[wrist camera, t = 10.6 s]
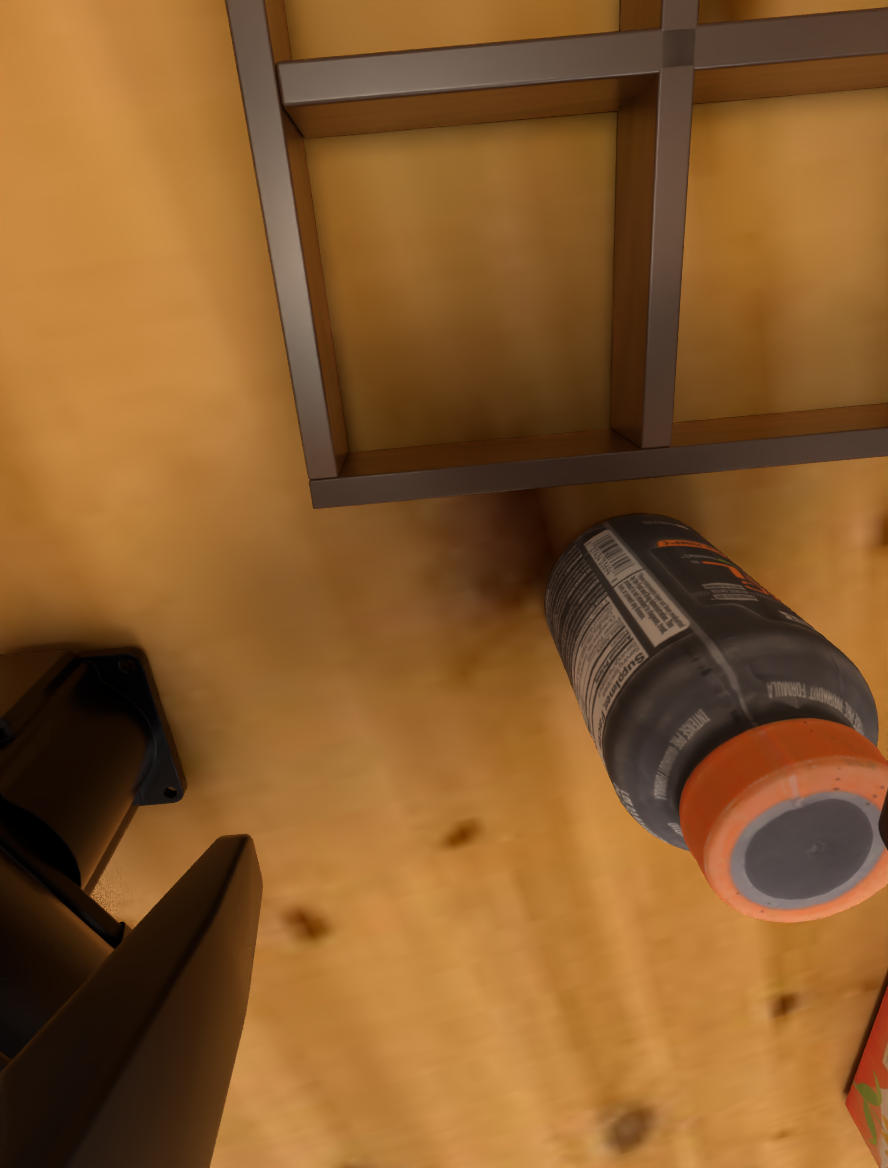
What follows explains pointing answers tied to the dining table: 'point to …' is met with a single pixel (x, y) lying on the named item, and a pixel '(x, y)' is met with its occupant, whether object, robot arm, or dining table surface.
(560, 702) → the dining table surface
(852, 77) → the rack
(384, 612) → the dining table surface
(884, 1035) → the cracker box
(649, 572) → the pill bottle
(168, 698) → the dining table surface
